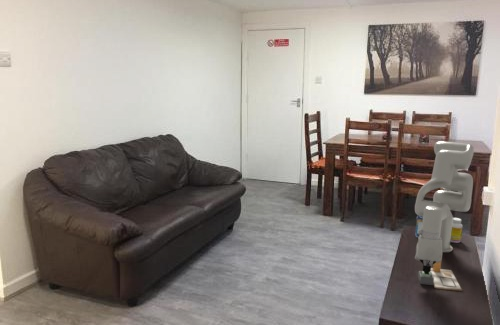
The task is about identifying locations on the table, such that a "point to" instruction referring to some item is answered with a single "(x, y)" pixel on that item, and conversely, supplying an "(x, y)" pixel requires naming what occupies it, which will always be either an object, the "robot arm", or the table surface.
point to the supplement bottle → (456, 230)
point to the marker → (437, 266)
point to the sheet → (445, 280)
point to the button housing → (425, 279)
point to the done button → (426, 274)
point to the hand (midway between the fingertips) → (426, 272)
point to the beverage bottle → (419, 225)
